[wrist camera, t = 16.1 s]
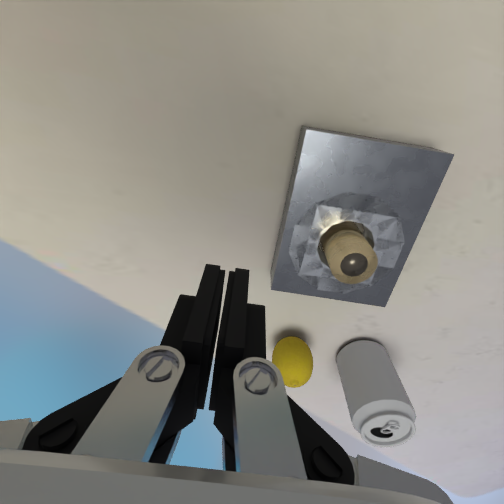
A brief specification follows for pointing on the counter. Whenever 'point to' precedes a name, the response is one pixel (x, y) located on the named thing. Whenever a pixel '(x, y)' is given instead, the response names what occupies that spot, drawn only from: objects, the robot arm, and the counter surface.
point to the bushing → (348, 253)
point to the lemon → (293, 361)
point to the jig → (354, 209)
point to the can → (375, 395)
